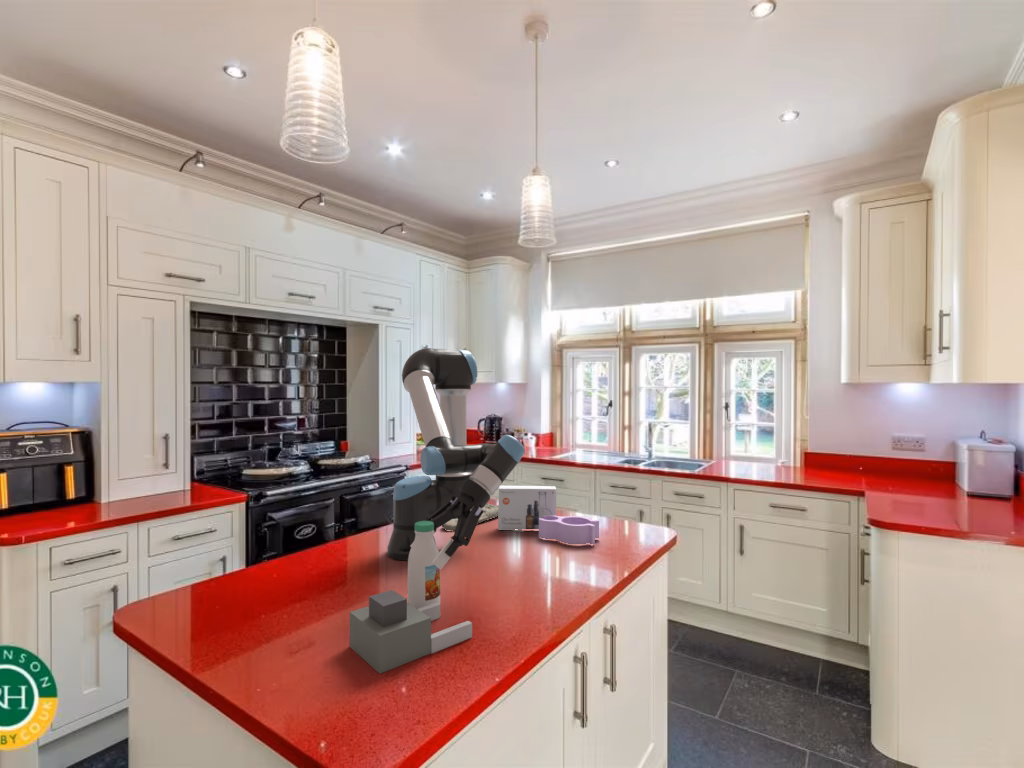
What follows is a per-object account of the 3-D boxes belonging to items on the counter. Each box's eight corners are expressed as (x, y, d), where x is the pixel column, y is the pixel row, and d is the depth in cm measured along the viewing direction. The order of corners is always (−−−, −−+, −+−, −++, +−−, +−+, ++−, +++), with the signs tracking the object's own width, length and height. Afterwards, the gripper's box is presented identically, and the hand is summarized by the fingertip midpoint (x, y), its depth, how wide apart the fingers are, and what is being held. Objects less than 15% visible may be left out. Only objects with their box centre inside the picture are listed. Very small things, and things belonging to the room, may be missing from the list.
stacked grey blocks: (349, 646, 104) (349, 591, 104) (436, 615, 118) (436, 567, 118) (380, 674, 94) (380, 614, 94) (472, 637, 108) (472, 584, 108)
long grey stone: (434, 532, 189) (455, 539, 184) (434, 518, 189) (455, 524, 183) (493, 509, 218) (512, 514, 212) (493, 497, 217) (512, 501, 211)
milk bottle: (412, 615, 118) (413, 528, 118) (403, 603, 125) (404, 520, 125) (444, 609, 122) (445, 524, 122) (434, 597, 128) (434, 517, 128)
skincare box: (498, 532, 185) (498, 488, 185) (498, 527, 191) (498, 485, 191) (556, 532, 185) (556, 488, 185) (555, 528, 191) (555, 485, 191)
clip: (534, 541, 175) (534, 521, 175) (546, 532, 186) (546, 512, 186) (592, 549, 167) (592, 527, 167) (600, 538, 178) (601, 518, 179)
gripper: (515, 506, 121) (457, 583, 113) (466, 488, 142) (415, 552, 134) (495, 486, 118) (435, 563, 110) (449, 471, 139) (395, 535, 131)
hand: (424, 557), depth 122 cm, fingers open, 13 cm apart
